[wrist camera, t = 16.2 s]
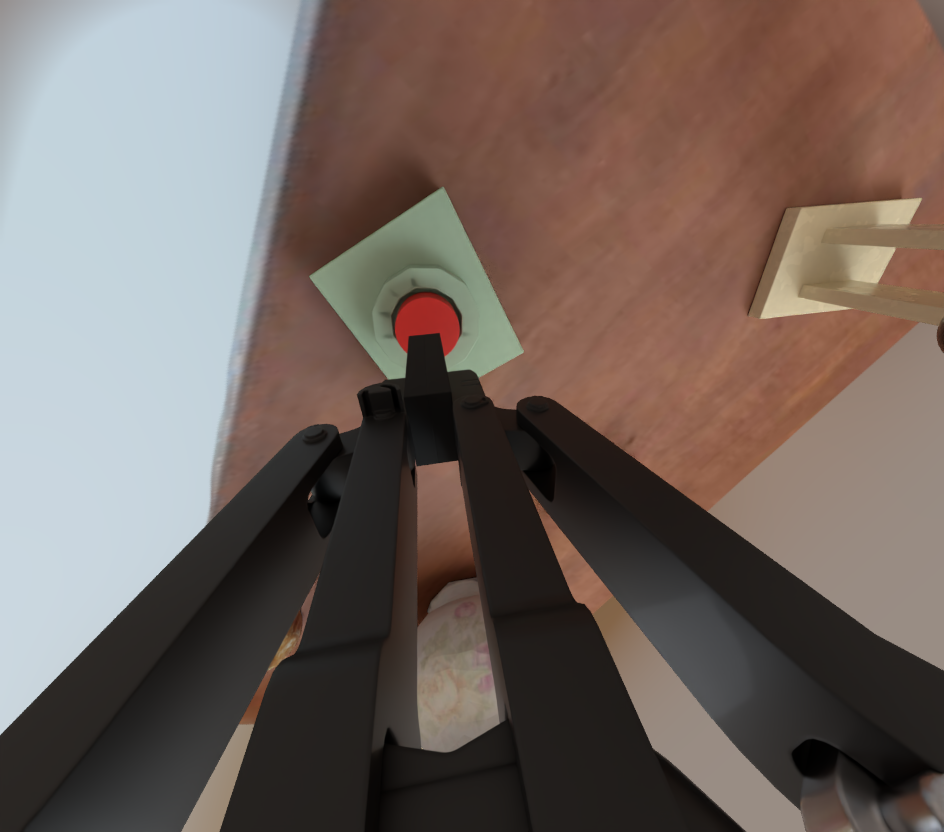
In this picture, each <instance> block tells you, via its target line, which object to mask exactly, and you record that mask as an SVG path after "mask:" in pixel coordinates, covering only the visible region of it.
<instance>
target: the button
mask: <svg viewBox="0 0 944 832" xmlns="http://www.w3.org/2000/svg"><path fill="white" fill-rule="evenodd" d="M433 333H440V336H441V341H442V346H443V352H444V357H445V356H446V355H448V354H449V353H450V352H451V351H452V350H453V349H454V347H455V346H456V344H457V342H458V339H459V334H460V326H459V321H458V318H457V316H456V313H455V311H454V309H453V307H452V305H451V304H450V303H449V302H448V301H447V300H446V299H445V298H443V297H442V296H440V295H438V294H435V293H431V292H420V293H416V294H414V295H412V296H410V297H409V298H407V299H406V300H405V301H404V302H403V303H402V305H401V306H400V308H399V311H398V314H397V318H396V322H395V334H396V338H397V341H398V343H399V345H400V346H401V348H402V349H403V350H404V351H405V352H406V353H407V350H408V339H409V336H414V335H424V334H433Z"/></svg>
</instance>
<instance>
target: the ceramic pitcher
mask: <svg viewBox="0 0 944 832" xmlns="http://www.w3.org/2000/svg"><path fill="white" fill-rule="evenodd" d="M427 612H428V613H429V614H428V615H427V616H426V617H425V618H424V619H423V621H422V622H421V623H420V625H419V626H418V627H417V705H418V719H419V727H420V736H421V747H422V748H423V749H424V750H430V751H437V752H451V751H454V750H456V749H458V748H460V747H461V746H463V745H465V744H466V743H468V742H470V741H471V740H473V739H475V738H476V737H478V736H480V735H481V734H483V733H485V732H486V731H488V730H490V729H491V728H493V727H495V726H496V725H498V724H500V722H499V715H498V707H497V700H496V693H495V686H494V680H493V674H492V667H491V661H490V655H489V649H488V643H487V637H486V630H485V624H484V618H483V612H482V606H481V600H480V594H479V587H478V581H477V578H471V579H465V580H459V581H453V582H449V583H448V584H447V585H446V586H445V587H444V588H443V589H442V590H441V591H440V592H439V593H438V594H437V595H436V596H435V598H434V599H433V600H432V601H431V603H430V606H429V608H428V610H427Z"/></svg>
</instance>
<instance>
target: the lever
mask: <svg viewBox="0 0 944 832" xmlns="http://www.w3.org/2000/svg"><path fill="white" fill-rule="evenodd" d="M937 341H938V345H939V347H940V348H941V350H942V351H943V353H944V317H943V318H942V320H941V322H940V324H939V327H938V330H937Z"/></svg>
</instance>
